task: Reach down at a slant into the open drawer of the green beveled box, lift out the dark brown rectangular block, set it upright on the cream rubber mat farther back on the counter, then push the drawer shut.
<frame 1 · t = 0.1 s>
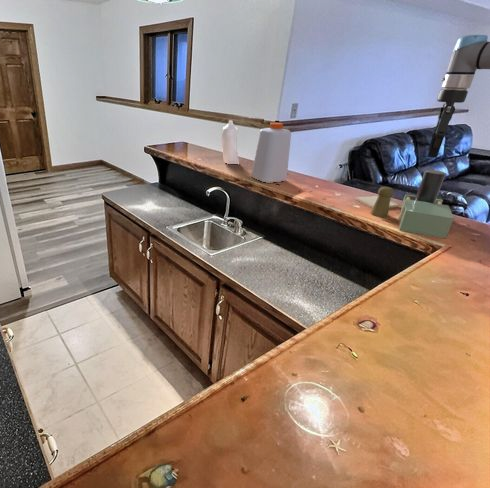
hand: (431, 153, 125), 25 cm above the counter, tool pointing down, fingers open, 13 cm apart
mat: (375, 203, 151), on the counter
plastic bottle: (268, 179, 183), on the counter
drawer: (421, 207, 136), point 4 cm above the counter, slide at 9.0 cm, touching dark brown rectangular block
olive pawn shaped piece: (378, 214, 139), on the counter
pale pink bottle: (229, 163, 213), on the counter
green beveled box: (420, 227, 128), on the counter
dark brown rectangular block: (420, 212, 136), point 2 cm above the counter, touching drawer
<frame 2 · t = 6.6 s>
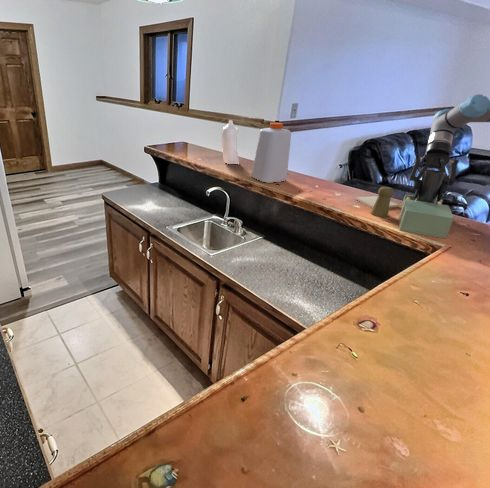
hand: (427, 198, 130), 9 cm above the counter, tool tilted 45°, fingers closed on dark brown rectangular block, 6 cm apart
dark brown rectangular block: (420, 212, 136), point 2 cm above the counter, touching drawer, gripper
everything else where it was.
when the fingers open (8 cm above the counter, at t = 16.1 s): dark brown rectangular block stays where it is, resting on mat.
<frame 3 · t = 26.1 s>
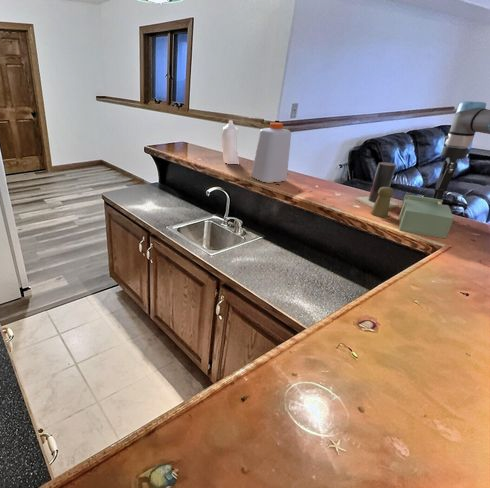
hand: (433, 206, 139), 3 cm above the counter, tool pointing down, fingers closed
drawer: (421, 207, 136), point 4 cm above the counter, slide at 8.9 cm, touching gripper
dark brown rectangular block: (376, 200, 151), point 1 cm above the counter, touching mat
everything else where it was.
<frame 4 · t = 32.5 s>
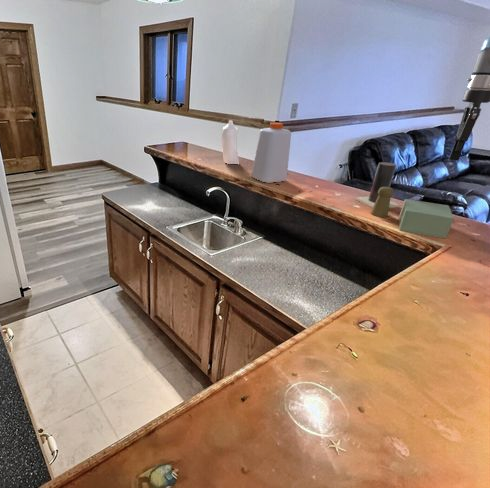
hand: (453, 159, 128), 22 cm above the counter, tool pointing down, fingers closed
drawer: (423, 214, 129), point 4 cm above the counter, slide at 0.0 cm, touching green beveled box
everything else where it was.
at the end: dark brown rectangular block inside the target area on the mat (0.1 cm from its centre), point 1.0 cm above the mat's base; dark brown rectangular block tilted 0°; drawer slide at 0.0 cm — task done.
